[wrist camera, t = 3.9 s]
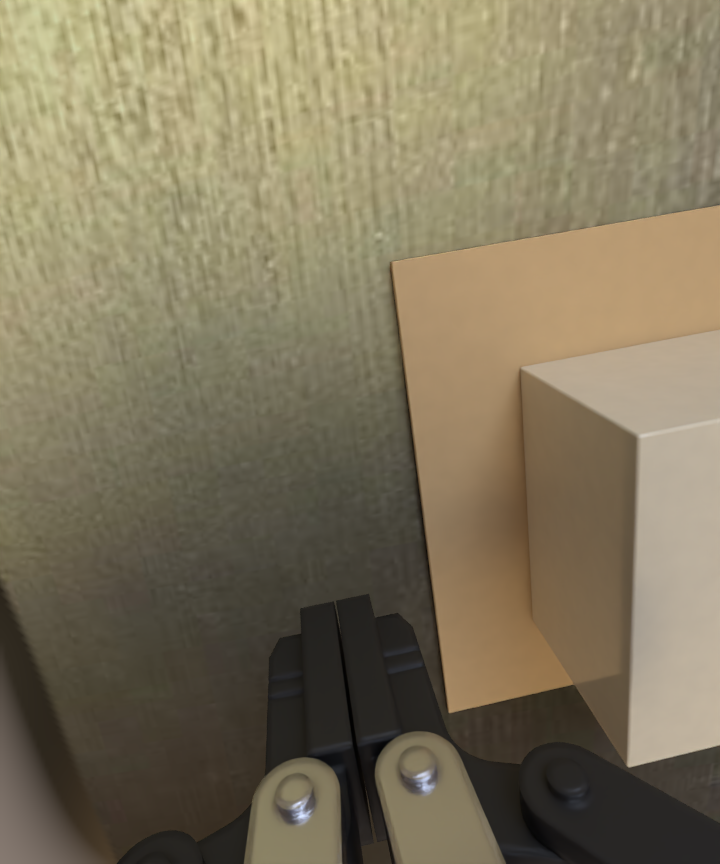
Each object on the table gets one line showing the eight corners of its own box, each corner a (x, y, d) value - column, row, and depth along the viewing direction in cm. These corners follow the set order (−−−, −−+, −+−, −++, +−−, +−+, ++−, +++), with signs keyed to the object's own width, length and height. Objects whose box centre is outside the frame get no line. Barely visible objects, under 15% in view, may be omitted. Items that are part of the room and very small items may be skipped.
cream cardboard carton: (531, 620, 17) (627, 769, 12) (518, 366, 14) (638, 435, 9) (716, 579, 17) (877, 708, 13) (741, 324, 14) (962, 370, 10)
